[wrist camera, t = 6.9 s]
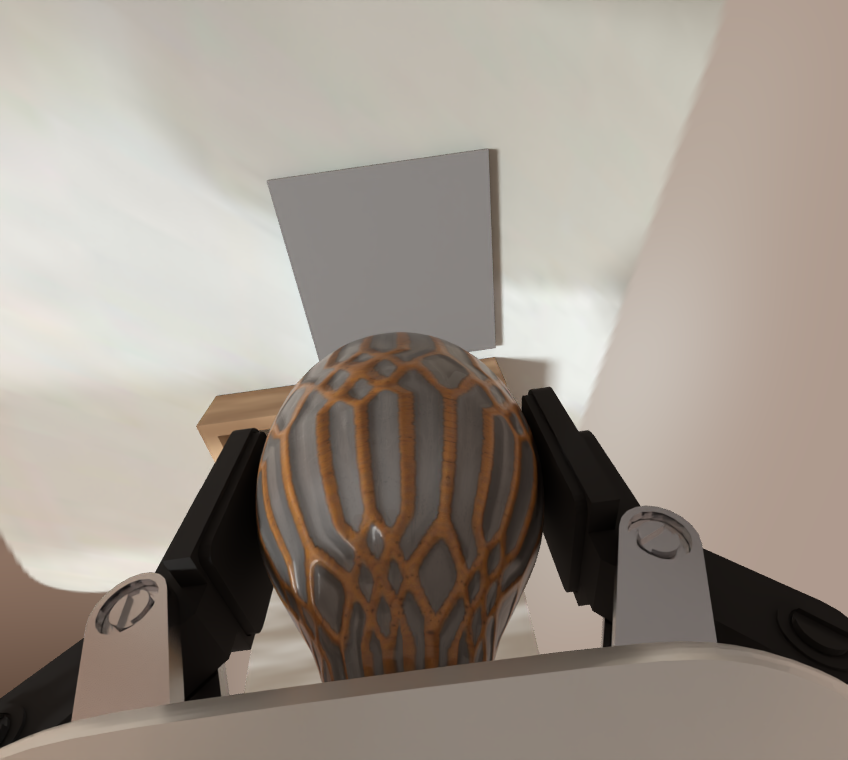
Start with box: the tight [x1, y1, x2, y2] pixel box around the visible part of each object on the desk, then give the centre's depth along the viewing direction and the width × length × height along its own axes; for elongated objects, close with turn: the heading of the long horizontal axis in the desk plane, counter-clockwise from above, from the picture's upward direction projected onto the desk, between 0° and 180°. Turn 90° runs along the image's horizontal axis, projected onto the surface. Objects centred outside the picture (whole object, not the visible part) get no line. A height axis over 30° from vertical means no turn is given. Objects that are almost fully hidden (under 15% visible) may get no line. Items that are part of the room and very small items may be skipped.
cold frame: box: [196, 357, 540, 693], centre depth 27 cm, size 19×20×17 cm
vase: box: [256, 332, 544, 683], centre depth 10 cm, size 7×7×9 cm
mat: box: [267, 149, 496, 361], centre depth 25 cm, size 12×12×1 cm
